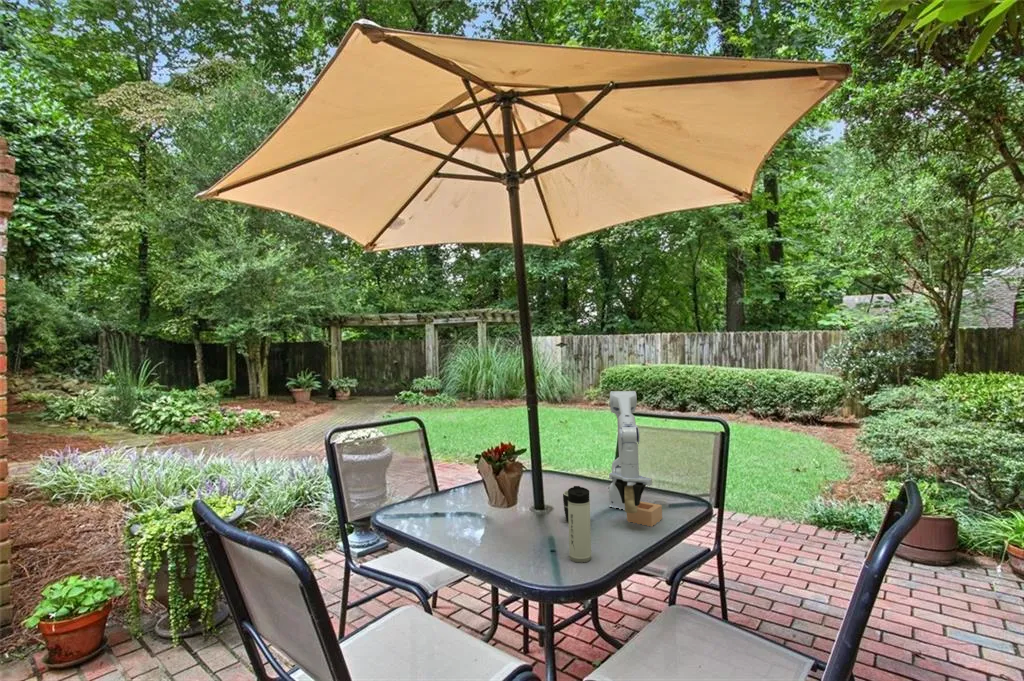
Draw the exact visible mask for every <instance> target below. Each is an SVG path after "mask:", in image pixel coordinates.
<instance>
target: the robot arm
mask: <svg viewBox="0 0 1024 681" xmlns="http://www.w3.org/2000/svg"><path fill="white" fill-rule="evenodd" d="M637 405H638V400H637V392H636V391H635V390H625V391H624V390H620V391H619V390H615V391H613V390H611V391H609V407H610V412H611V413H612V414H614V415H615V416H616V419H617V437H618V438H617V440H618V441H617V442H618V457H616V459H614V460H613V461H612V462H611V472H610V473H609V474H608V477H609V478H608V479H609V480H611V481H612V482H611V483H610V485H609V489H608V497H609V498H608V499H609V505H608V507H609V506H610V505H611V506H610V507H612V506H613V507H614V508H613V509H616V508H619V509H618V510H621V509H623V510H622V511H625V495H624V486H628V485H631V486H633V489H634V495H635V506H638V505H640V501H641V499H642V494H643V492H644V490H645V488H646V486H649V487H650V486H653V479H652V478H650V477H646V476H642V475H640V470H639V444H640V429H639V426H638V425H637V423H636V417H635V415H634V413H635V412H636V410H637V409H636V408H637ZM610 507H609V508H610Z"/></svg>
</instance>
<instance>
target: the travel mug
mask: <svg viewBox="0 0 1024 681" xmlns="http://www.w3.org/2000/svg"><path fill="white" fill-rule="evenodd" d="M567 490H568V521H569V523H568V545H569V546H568V548H569V551H568V552H569V559H570V560H571V562H575V563H578V562H581V564H582V563H583V562H584V563H587V562H590V561H591V560H592V540H591V539H592V538H591V536H592V535H591V534H592V532H591V504H590V502H591V500H590V490H589V489H588V488H585V487H582V486H581V485H573V487H570V488H568V489H567ZM584 563H583V564H584Z"/></svg>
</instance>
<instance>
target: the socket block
mask: <svg viewBox="0 0 1024 681" xmlns="http://www.w3.org/2000/svg"><path fill="white" fill-rule="evenodd" d="M661 519H662V520H663V505H662V504H659V503H652V502H647V501H641V500H640V505H638V506H637V513H627V512H626V522H627V521H628V522H627V523H630V522H633V523H632V524H635V523H637V524H636V525H640V524H642V525H641V526H644V525H647V526H646V527H649V526H651V527H650V528H653V527H654V526H656V523H657V522H658V523H659V522H661V521H662V520H661ZM660 520H661V521H660ZM658 523H657V524H658ZM653 525H654V526H653ZM652 526H653V527H652Z"/></svg>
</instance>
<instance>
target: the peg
mask: <svg viewBox="0 0 1024 681" xmlns="http://www.w3.org/2000/svg"><path fill="white" fill-rule="evenodd" d="M624 495H625V510H624V512H625V513H626V514H627V513H637V506H635V495H634V489H633V486H631V485H628V486H624Z"/></svg>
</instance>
